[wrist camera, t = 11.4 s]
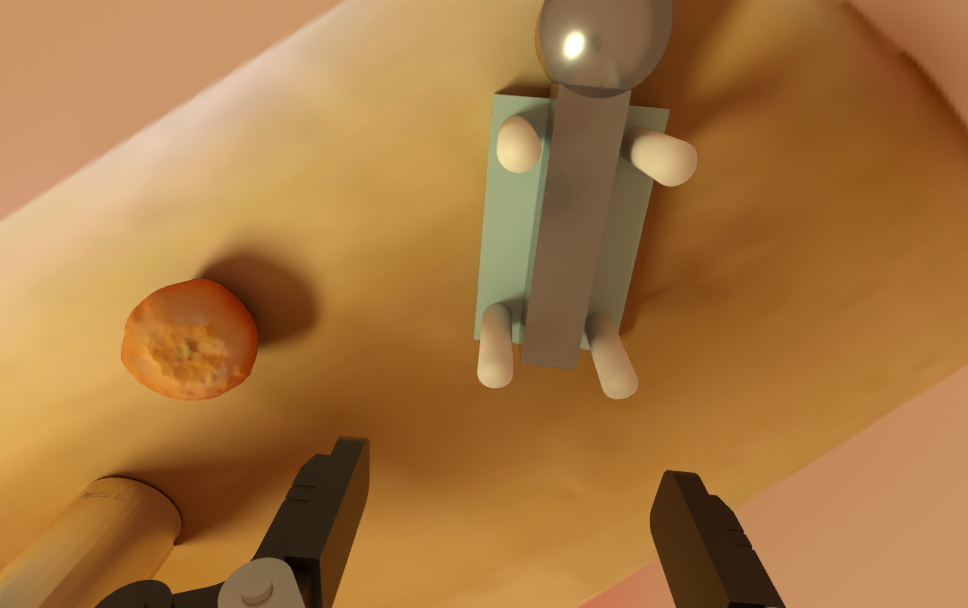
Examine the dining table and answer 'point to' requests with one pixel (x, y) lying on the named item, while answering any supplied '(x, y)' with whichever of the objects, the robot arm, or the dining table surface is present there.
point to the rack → (512, 222)
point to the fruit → (190, 341)
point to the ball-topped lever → (581, 157)
